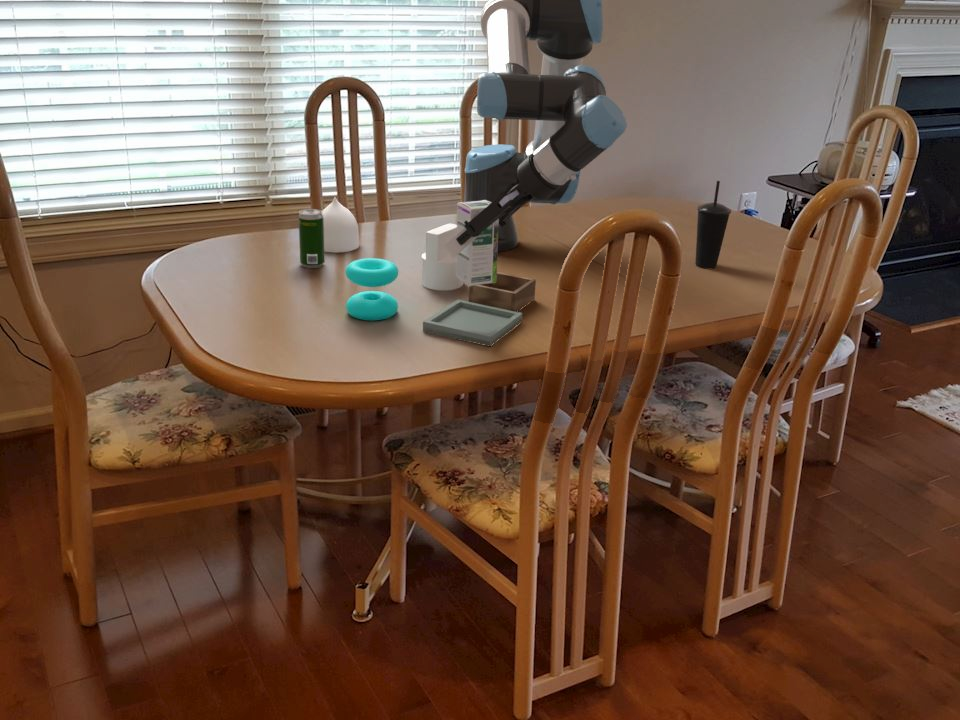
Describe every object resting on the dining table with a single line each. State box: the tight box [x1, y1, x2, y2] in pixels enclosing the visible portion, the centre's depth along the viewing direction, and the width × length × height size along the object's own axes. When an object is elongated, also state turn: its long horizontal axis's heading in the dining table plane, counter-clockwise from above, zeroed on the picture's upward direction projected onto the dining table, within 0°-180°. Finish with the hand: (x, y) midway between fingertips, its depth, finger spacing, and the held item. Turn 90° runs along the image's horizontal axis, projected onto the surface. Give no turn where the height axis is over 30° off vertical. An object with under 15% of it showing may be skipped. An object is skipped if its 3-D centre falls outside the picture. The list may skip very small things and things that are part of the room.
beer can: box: [298, 208, 326, 269], centre depth 204 cm, size 5×5×12 cm
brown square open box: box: [468, 271, 537, 312], centre depth 188 cm, size 10×10×4 cm
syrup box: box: [456, 200, 499, 287], centre depth 169 cm, size 6×6×14 cm
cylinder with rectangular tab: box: [420, 222, 464, 291], centre depth 196 cm, size 9×9×12 cm
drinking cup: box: [694, 180, 732, 269], centre depth 214 cm, size 8×8×20 cm
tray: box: [422, 299, 523, 347], centre depth 176 cm, size 14×14×2 cm
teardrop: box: [321, 196, 360, 254], centre depth 218 cm, size 11×11×12 cm
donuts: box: [345, 257, 399, 322], centre depth 179 cm, size 10×10×10 cm
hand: (460, 245), depth 171 cm, fingers closed on syrup box, 8 cm apart
